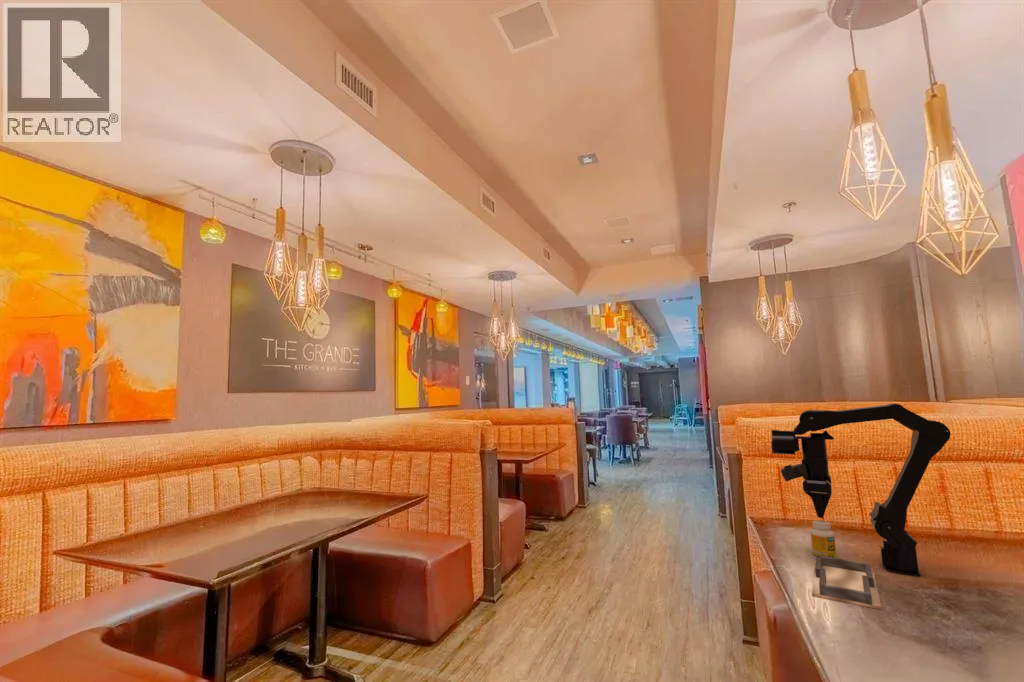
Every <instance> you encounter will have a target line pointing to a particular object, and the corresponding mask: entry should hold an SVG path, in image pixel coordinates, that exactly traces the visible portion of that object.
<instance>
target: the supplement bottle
mask: <svg viewBox="0 0 1024 682" xmlns="http://www.w3.org/2000/svg"><path fill="white" fill-rule="evenodd" d="M812 527H813V528H812V529H811V530H810V538H811V550H812V556H813V558H814V559H815V560H816V555H817V556H824V557H830V558H836V559H838V558H837V551H836V539H835V538H836V537H835V533H834V531H832V530H830V529H831V523H830V522H829V521H825V520H813V521H812Z"/></svg>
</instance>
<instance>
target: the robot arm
mask: <svg viewBox="0 0 1024 682" xmlns="http://www.w3.org/2000/svg"><path fill="white" fill-rule="evenodd" d="M798 420H799V423H798V424H797V425H796V426H795V427H793V430H778V429H771V450H772V455H791V456H792V455H796V453H797V452H800V444H799V440H800V442H801V451H802V452H801V453H802V458H801V463H797V464H794V465H791V464H788V465H785V466H784V467H782V468H781V469H780V472H781V475H782V476H783V478H784V481H785V482H789V481H791V480H794V479H798V478H802V479H803V480H802V490H803V492H804V493H805V494H806V495H807V496H808V497H810V498H811V501H812V503H813V507H814V509H815V513H816V516H817V517H818V518H819V519H823V518H824V516H825V514H826V510H827V508H828V506H829V502H830V500H831V496H832V493H833V491H832V478H831V475H830V469H829V460H828V459H829V458H828V452H827V450H828V449H827V441H826V440H831V441H832V440H834V438H835V437H834V436H832V435H831V434H829V432H828V431H827V430H825V429H829V428H833V427H835V426H839V425H845V424H846V425H847V424H855V423H864V422H865V423H867V422H873V421H875V422H876V421H884V420H893V421H896V422H897V423H898V424H900V425H902V426H904V427H905V428H908V429H909V430H911V431H912V434H911V439H910V451H909V452H908V455H907V457H906V459H905V461H904V463H903V465H902V467H901V470H900V472H899V474H898V475H897V478H896V480H895V483H894V484H893V486H892V489H891V490H890V493H889V495H888V497H887V499H886V500H884V501H883V503H880V502H878V501H874V504H873V505H874V506H873V509H872V510H871V511H870V513H869V514H868V515H869V517H870V523H871V525H872V527H873V529H874V530H875V533H877V535H878V536H880V537H881V538H883V540H882V546H880V547H879V548H880V558H881V564H882V566H883V567H884V568H885V570H886V571H888V572H891V573H898V574H903V575H904V574H905V575H909V576H910V575H912V576H915V577H916V576H917V577H921V571H919V565H918V564H919V563H918V556H917V555H918V553H917V549H916V547H917V544H918V543H917V541H916V540H915V539H914V537H913V536H912V535H911V534H910V533H909V532H908V531H906V525H907V517H908V516H907V513H908V508H909V505H910V504H911V501H912V499H913V498H914V495H915V493H916V491H917V489H918V487H919V484H920V483H921V480H922V479H923V476H924V474H925V473H926V470H927V468H928V466H929V464H930V461H931V460H932V458H933V457H934V456H936V455H937V454H938V453H939V452H940V451H941V450H942V449H943V447H944V446H945V445H946V444H947V442H948V441H949V440H950V438H951V435H952V434H951V431H950V429H949V427H948V426H947V425H946V424H945V423H943V422H940V421H937V420H936V421H935V420H931V419H926V418H925V417H923V416H921V415H919V414H917V413H915V412H913V411H911V410H909V409H907V408H905V407H904V405H901V404H899V403H888V404H884V405H875V406H867V407H866V406H865V407H858V408H849V409H847V408H846V409H841V410H840V409H838V410H829V409H827V410H825V409H807V410H804V411H802V412H801V413H800V414H799V417H798ZM822 430H823V432H817V431H822ZM808 432H810V433H809V435H807V436H803V435H804V434H807V433H808Z"/></svg>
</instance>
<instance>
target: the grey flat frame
mask: <svg viewBox="0 0 1024 682" xmlns="http://www.w3.org/2000/svg"><path fill="white" fill-rule="evenodd" d="M836 558H837V557H836ZM836 558H830V557H824V556H817V555H816V559H815V563H814V566H813V569H814V570H813V579H812V587H811V589H812V590H811V595H812V597H815V596H816V597H815V598H820V599H821V598H822V599H826V600H831V601H834V602H835V601H836V602H840V603H841V602H842V603H844V604H845V603H846V604H852V605H858V606H861V607H866V608H871V609H875V610H881V611H882V610H883V607H882V604H881V598H880V595H879V589H878V587H877V586H878V585H877V583H876V577H875V573H874V572H872V566H871V564H870V563H868V562H867V563H866V562H861V561H856V560H855V561H854V560H848V559H842V558H837V559H836Z"/></svg>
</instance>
